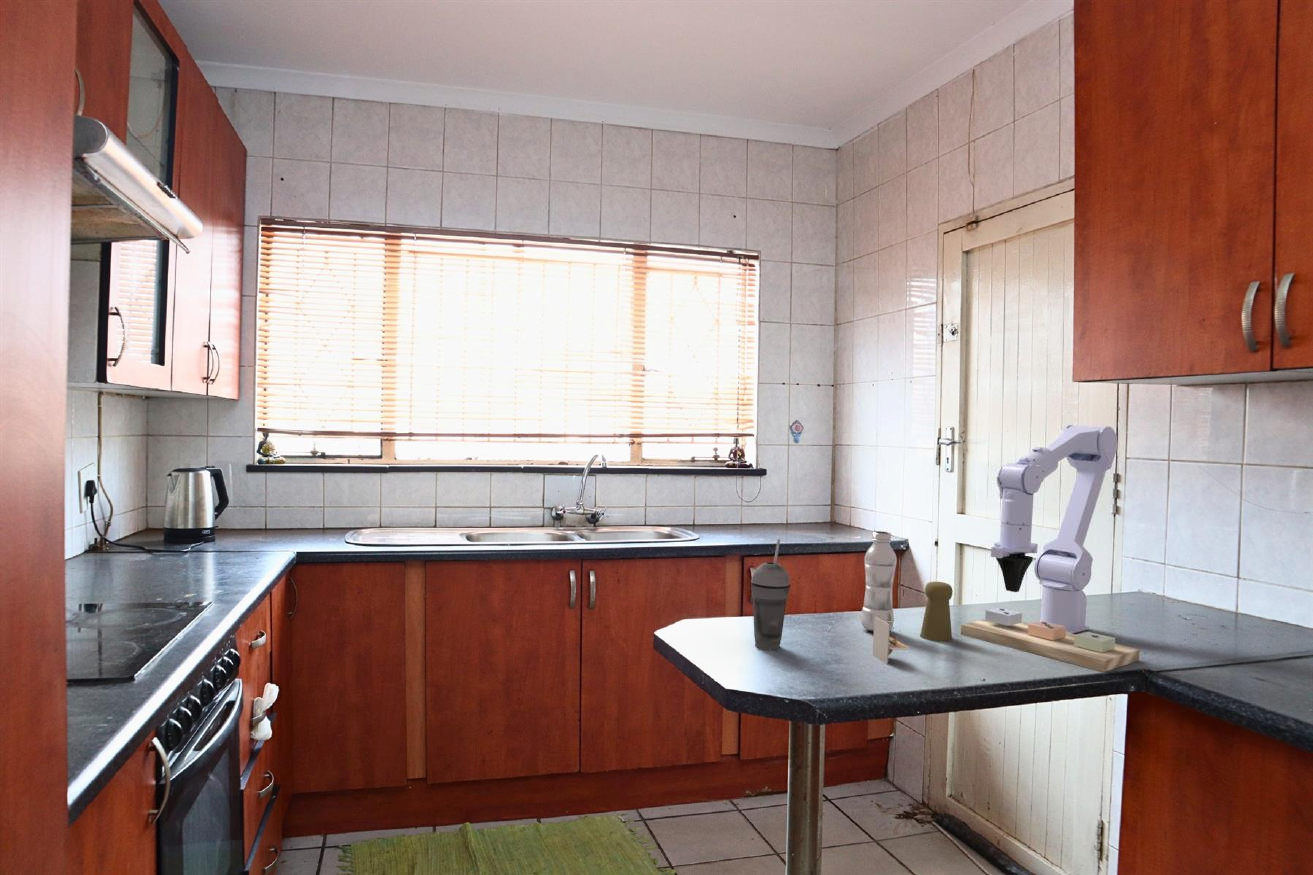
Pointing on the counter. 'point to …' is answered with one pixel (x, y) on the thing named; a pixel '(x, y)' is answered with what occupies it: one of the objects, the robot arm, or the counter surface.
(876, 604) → the plastic bottle
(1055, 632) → the tile three
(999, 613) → the tile two
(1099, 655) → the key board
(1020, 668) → the counter surface
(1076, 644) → the tile one
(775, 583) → the beverage cup
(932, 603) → the cork
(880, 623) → the architectural model
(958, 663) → the counter surface
